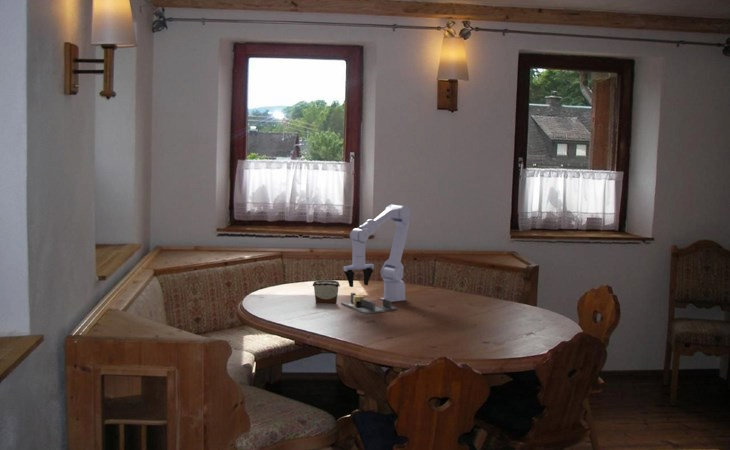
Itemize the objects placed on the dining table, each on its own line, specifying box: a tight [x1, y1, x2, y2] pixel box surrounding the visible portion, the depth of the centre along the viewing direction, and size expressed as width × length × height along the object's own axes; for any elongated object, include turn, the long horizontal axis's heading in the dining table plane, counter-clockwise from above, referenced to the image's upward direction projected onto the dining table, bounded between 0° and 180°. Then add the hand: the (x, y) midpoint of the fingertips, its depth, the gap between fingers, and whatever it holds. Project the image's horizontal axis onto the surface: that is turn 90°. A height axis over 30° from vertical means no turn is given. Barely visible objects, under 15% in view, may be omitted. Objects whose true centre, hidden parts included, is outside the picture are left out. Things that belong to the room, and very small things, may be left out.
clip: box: [353, 294, 365, 305], centre depth 344 cm, size 4×4×4 cm
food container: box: [312, 279, 341, 306], centre depth 350 cm, size 12×6×10 cm, turn 84°
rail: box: [340, 292, 386, 315], centre depth 341 cm, size 10×21×5 cm, turn 31°
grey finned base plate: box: [377, 299, 398, 312], centre depth 340 cm, size 6×7×4 cm
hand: (358, 285), depth 343 cm, fingers open, 7 cm apart
